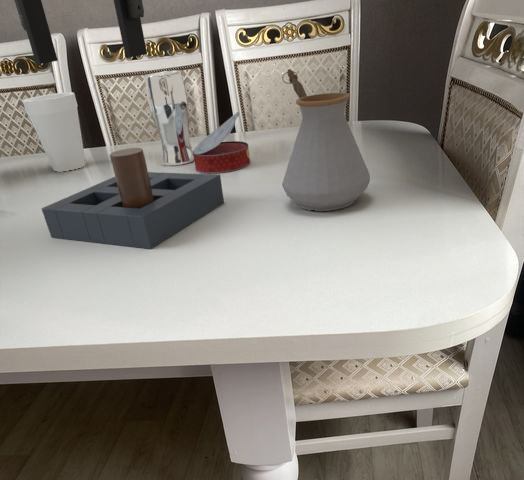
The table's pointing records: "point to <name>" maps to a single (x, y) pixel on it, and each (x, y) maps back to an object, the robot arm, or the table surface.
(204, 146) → the canned food
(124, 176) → the peg
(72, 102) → the foam cup
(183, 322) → the table surface
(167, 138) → the beer glass
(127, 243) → the pad base
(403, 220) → the table surface
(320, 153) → the coffee pot
